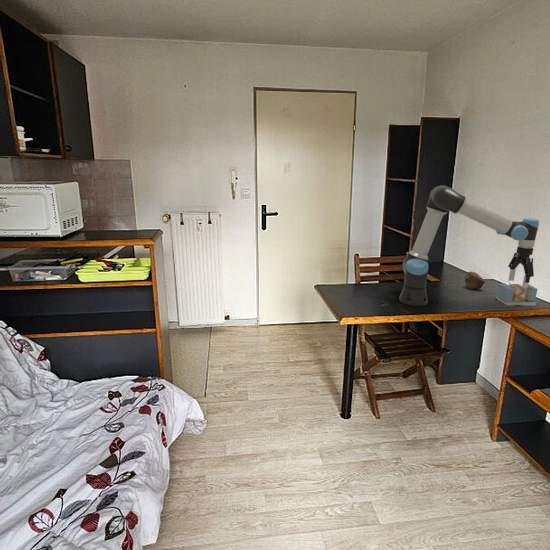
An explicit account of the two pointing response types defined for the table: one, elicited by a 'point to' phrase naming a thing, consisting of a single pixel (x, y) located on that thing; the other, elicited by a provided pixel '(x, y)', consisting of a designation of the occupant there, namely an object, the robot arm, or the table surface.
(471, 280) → the rock
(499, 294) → the jaw
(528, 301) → the vise
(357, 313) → the table surface
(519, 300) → the block
